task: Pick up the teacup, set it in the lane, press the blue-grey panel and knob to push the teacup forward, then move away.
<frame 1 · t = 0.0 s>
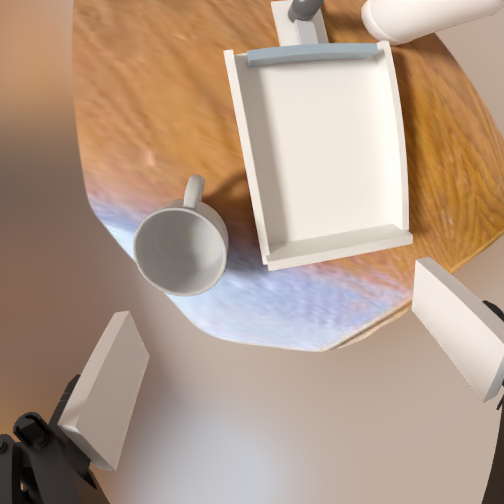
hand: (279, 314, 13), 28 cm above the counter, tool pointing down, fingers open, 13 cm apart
bottle: (385, 21, 30), on the counter
lane: (321, 145, 37), on the counter
blue-grey panel and knob: (308, 24, 27), point 4 cm above the counter, slide at 0.0 cm
teacup: (193, 221, 41), on the counter
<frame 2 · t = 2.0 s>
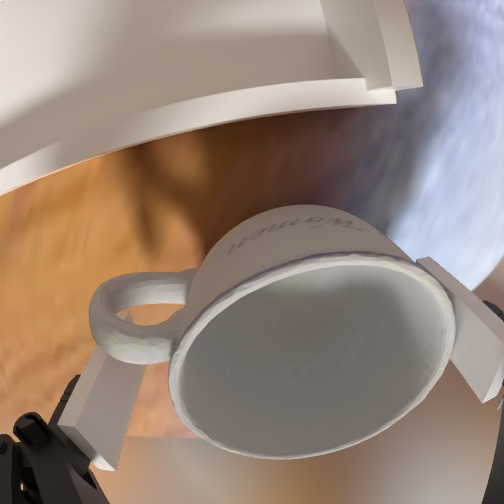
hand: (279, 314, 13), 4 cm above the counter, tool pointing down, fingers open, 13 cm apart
teacup: (263, 275, 17), on the counter
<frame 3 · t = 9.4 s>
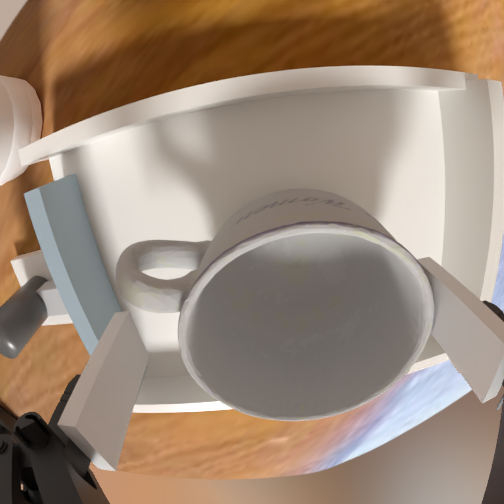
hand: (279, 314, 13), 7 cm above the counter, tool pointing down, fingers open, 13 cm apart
bottle: (8, 128, 16), on the counter
lane: (275, 247, 20), on the counter
blue-grey panel and knob: (46, 312, 16), point 4 cm above the counter, slide at 0.0 cm
teacup: (272, 252, 19), point 1 cm above the counter, touching lane
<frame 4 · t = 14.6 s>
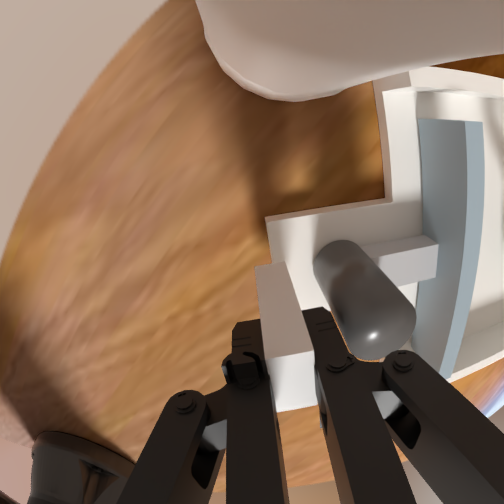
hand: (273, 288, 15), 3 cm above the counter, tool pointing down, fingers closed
bottle: (285, 34, 13), on the counter
blue-grey panel and knob: (405, 282, 14), point 4 cm above the counter, slide at 1.1 cm, touching gripper
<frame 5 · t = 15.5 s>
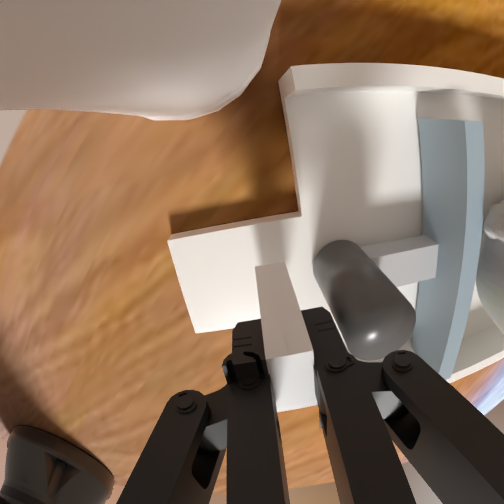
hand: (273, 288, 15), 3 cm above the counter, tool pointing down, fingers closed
bottle: (186, 50, 13), on the counter
lane: (477, 227, 17), on the counter
blue-grey panel and knob: (404, 282, 14), point 4 cm above the counter, slide at 6.2 cm, touching gripper, teacup
teacup: (495, 230, 17), point 1 cm above the counter, touching lane, blue-grey panel and knob
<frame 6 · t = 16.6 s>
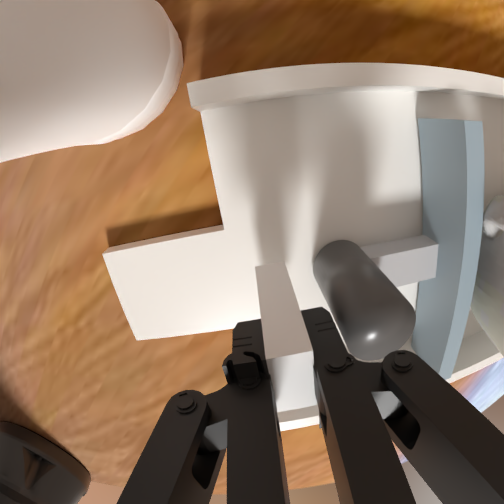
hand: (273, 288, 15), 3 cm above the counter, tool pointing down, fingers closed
bottle: (114, 71, 13), on the counter
lane: (436, 236, 17), on the counter
blue-grey panel and knob: (404, 282, 14), point 4 cm above the counter, slide at 10.2 cm, touching gripper, teacup
teacup: (490, 236, 17), point 1 cm above the counter, touching blue-grey panel and knob
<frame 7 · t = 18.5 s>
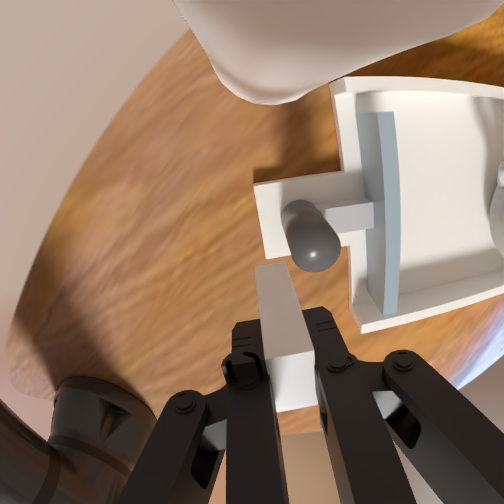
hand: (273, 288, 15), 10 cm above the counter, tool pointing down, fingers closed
bottle: (267, 57, 20), on the counter
lane: (466, 190, 24), on the counter
blue-grey panel and knob: (342, 226, 21), point 4 cm above the counter, slide at 0.6 cm
teacup: (502, 194, 23), point 1 cm above the counter, touching lane
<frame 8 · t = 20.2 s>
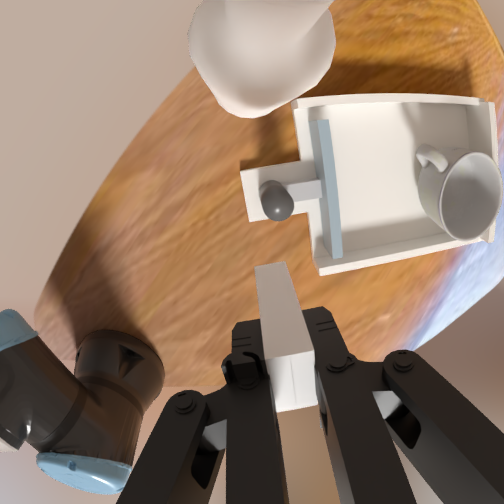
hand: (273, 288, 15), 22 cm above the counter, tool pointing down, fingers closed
bottle: (248, 85, 31), on the counter
lane: (400, 172, 35), on the counter
blue-grey panel and knob: (298, 195, 32), point 4 cm above the counter, slide at 0.6 cm
teacup: (432, 174, 35), point 1 cm above the counter, touching lane
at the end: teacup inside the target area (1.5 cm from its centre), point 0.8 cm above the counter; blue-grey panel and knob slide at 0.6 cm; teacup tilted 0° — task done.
